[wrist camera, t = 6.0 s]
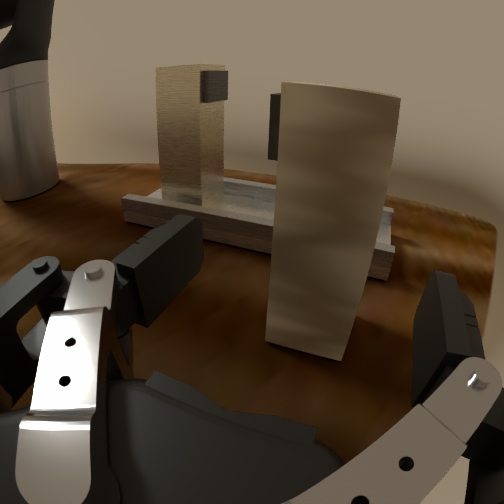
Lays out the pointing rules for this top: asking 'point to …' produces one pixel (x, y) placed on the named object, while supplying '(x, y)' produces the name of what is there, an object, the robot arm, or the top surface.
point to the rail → (214, 170)
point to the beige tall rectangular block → (325, 208)
